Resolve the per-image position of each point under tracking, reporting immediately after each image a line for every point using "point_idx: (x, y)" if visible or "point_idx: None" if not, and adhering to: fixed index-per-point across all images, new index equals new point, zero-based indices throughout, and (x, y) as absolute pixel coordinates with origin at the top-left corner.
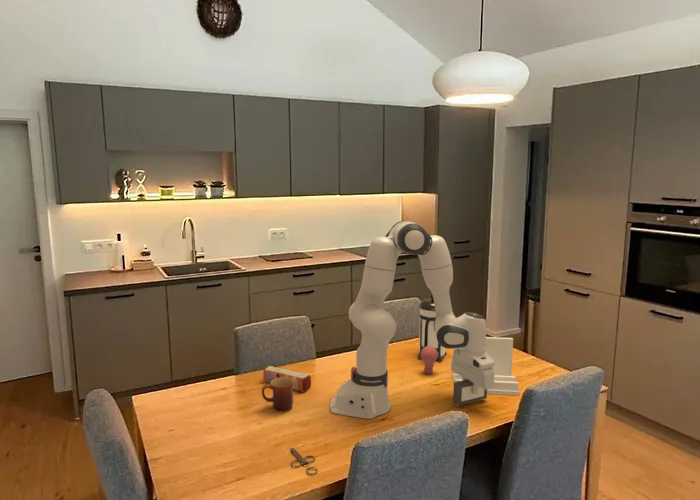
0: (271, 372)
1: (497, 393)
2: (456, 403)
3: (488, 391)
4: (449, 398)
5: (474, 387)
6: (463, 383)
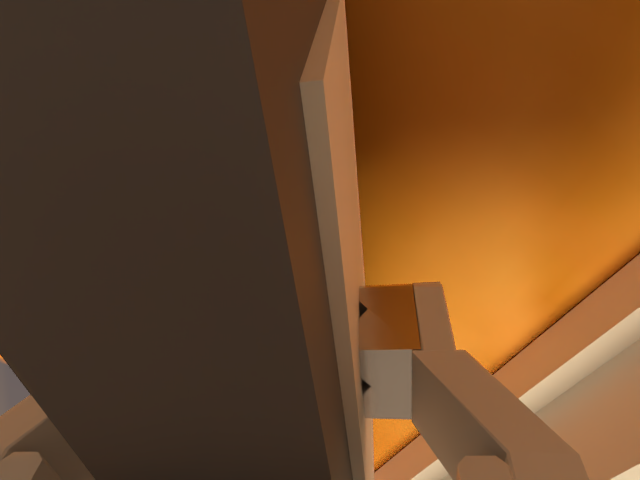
0: None
1: (380, 476)
2: None
3: (426, 455)
4: (621, 10)
5: (32, 414)
6: (8, 301)
